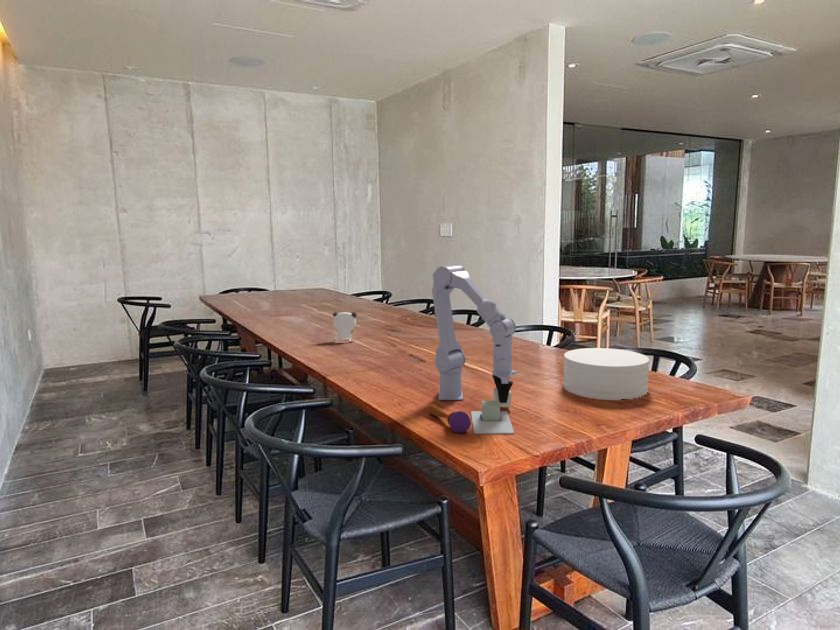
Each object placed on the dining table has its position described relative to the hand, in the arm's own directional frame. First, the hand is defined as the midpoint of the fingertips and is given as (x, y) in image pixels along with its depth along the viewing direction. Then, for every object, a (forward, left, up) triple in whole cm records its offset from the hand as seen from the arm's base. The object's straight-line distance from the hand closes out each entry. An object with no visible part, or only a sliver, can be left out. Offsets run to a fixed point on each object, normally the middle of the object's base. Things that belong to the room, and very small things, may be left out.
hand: (502, 399), depth 174 cm
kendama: (+14, -17, -3) cm, 22 cm away
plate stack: (-22, +38, -3) cm, 44 cm away
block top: (0, 0, -1) cm, 1 cm away
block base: (+10, -4, -2) cm, 11 cm away
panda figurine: (-106, -68, -3) cm, 126 cm away
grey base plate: (+13, -4, -3) cm, 14 cm away
